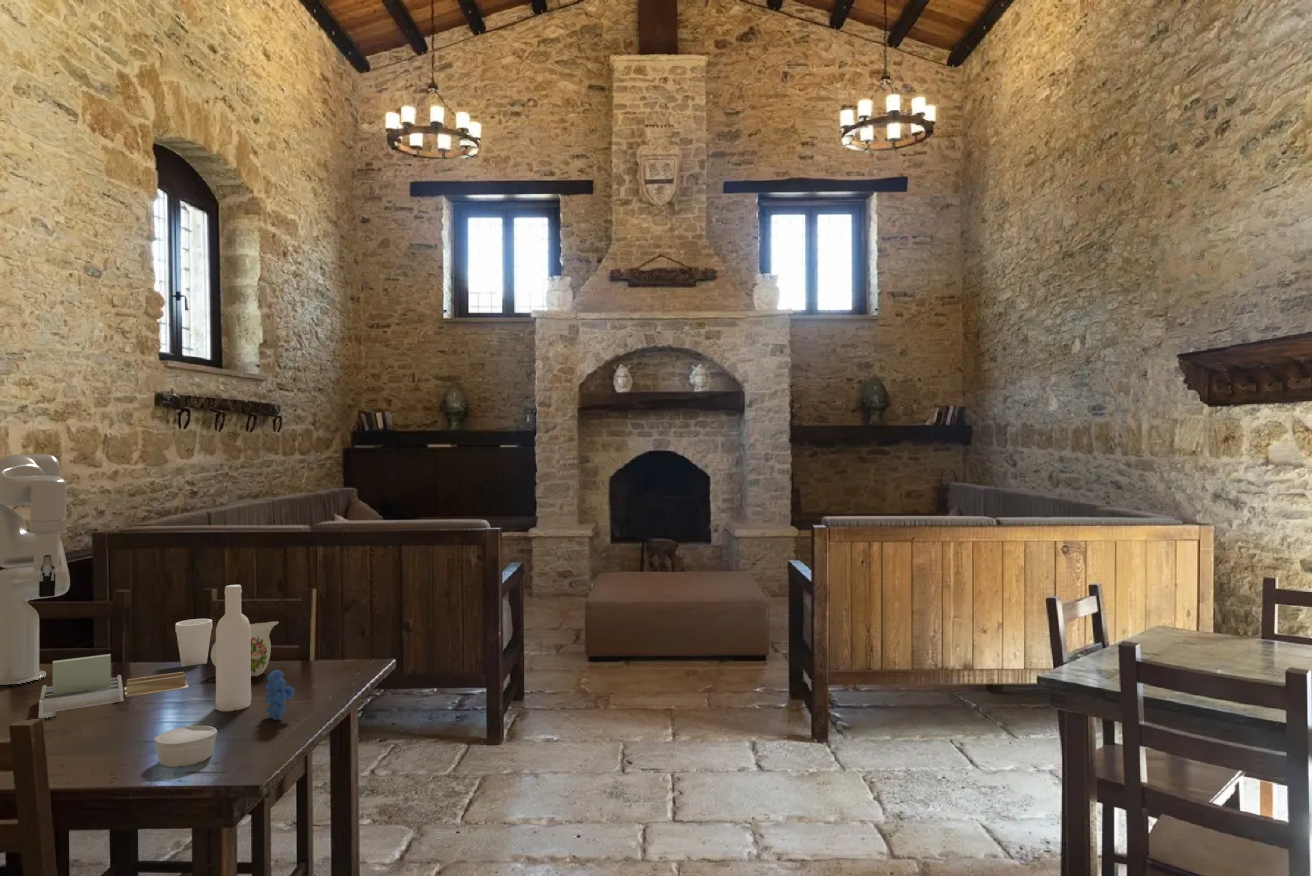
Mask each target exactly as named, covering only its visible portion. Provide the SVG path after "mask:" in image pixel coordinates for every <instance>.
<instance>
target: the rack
mask: <svg viewBox="0 0 1312 876" xmlns="http://www.w3.org/2000/svg"><path fill="white" fill-rule="evenodd" d="M123 686H124V685H123V681H122V675H121V674H118V675H117V677H111V686H105V687H98V688H91V689H84V690H77V691H70V692H63V693H56V694H53V686H47V684H44V685H42V687H41V692H40V697H39V701H38V719H39V718H43V720H45V719H44V717H45V718H47V719H48V717H53V716H56V717H57V712H62V711H67V710H69V711H70V710H75V709H81V708H87V707H93V706H100V705H101V706H102V705H108V704H114V703H121V702H124V701H125V700H124V687H123ZM47 719H46V720H47ZM48 720H49V719H48Z"/></svg>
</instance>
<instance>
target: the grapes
mask: <svg viewBox="0 0 1312 876" xmlns="http://www.w3.org/2000/svg"><path fill="white" fill-rule="evenodd" d="M284 677H285V674H284V672H282V671H281V670H280V669H277V670H272V671H271V672H270V673H269V674H268V675H267V678H266V679H267V680H268V682H267V683H266V684H265V686H264V688H265V689H266V690H267V691H268V692H267V693H266V694H265V696H264V697H265V698H264V701H265V702H267V704H269V706H268V708H267V709H266V710H265V711H266V712H267V713H268V716H269V717H270V718H271V719H272V720H274V721H278V720H280V718H282V717H283V714H284V713H285V711H286V710H287V706H286V705H285V704H286V701H287V700H289V699H292V697H293V696H294V694H295V693H296V690H295V689H294V688H293V687H292V686H290V685H287V684H288V683H287V681H285V679H284Z"/></svg>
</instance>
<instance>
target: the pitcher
mask: <svg viewBox="0 0 1312 876" xmlns="http://www.w3.org/2000/svg"><path fill="white" fill-rule="evenodd" d="M279 623H280V622H279V621H268V622H257V623H250V626H251V676H255V677H258V676H261V675H262V674H263V673H264V671H265V670H266V669H267V667H268V664H269V662H270V658H271V657H270V656H271V652H272V650H271V648H272V647H271V645H272V644H271V643H272V642H271V639H270V633H271V632H272V630H273V628H274V627H275V626H276V625H278V624H279ZM210 659H211V662H212V664H213V665H214V666H215V667H216V642H215V643H213V645H212V646H211V650H210ZM260 674H261V675H260Z"/></svg>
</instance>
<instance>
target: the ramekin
mask: <svg viewBox="0 0 1312 876" xmlns="http://www.w3.org/2000/svg"><path fill="white" fill-rule="evenodd" d="M217 729H218V728H215V727H213V726H210V725H209V726H208V725H191V726H189V725H188V726H184V727H178V728H174V729H170V730H167V731H164V732H163V733H160V734H159V735H157V736H156V737H155V738H154V740H153V741H154V742H153V743H154V746H155V748H156V754H157V759H158V762H159V763H160V764H161V766H163V767H166V768H179V767H178V766H184V767H189V765H190V766H194V765H196V764H195V763H197V764H199V763H198V762H200V763H202V761H203V762H205V761H206V759H207V758H208V759H210V758H211V756H212V754H213V752H214V748H215V742H216V737H217V736H218V730H217ZM208 759H207V760H208ZM204 760H205V761H204ZM193 764H194V765H193Z"/></svg>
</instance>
